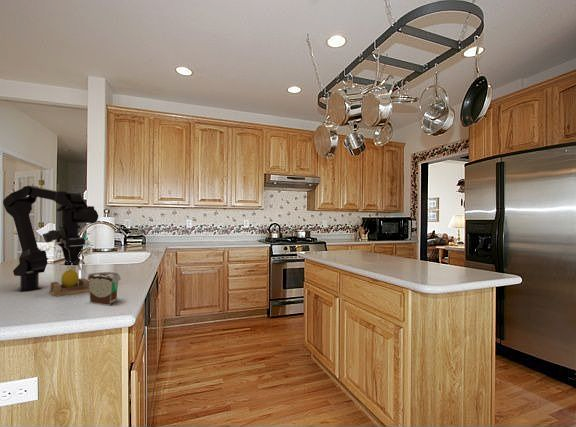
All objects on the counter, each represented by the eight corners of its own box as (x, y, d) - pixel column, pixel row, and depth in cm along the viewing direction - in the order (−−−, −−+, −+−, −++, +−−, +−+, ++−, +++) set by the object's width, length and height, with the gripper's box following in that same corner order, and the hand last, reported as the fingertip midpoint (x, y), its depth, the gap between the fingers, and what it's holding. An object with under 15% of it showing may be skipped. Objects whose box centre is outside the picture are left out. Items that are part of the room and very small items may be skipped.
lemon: (69, 291, 116) (69, 270, 116) (57, 290, 117) (57, 270, 117) (81, 287, 122) (81, 268, 121) (70, 286, 123) (70, 267, 123)
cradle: (49, 292, 118) (49, 282, 118) (83, 287, 127) (83, 277, 127) (54, 296, 112) (54, 286, 112) (90, 291, 121) (90, 281, 121)
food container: (128, 301, 108) (128, 273, 108) (113, 306, 102) (113, 276, 102) (102, 297, 112) (103, 270, 112) (87, 302, 106) (87, 273, 106)
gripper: (40, 222, 120) (39, 261, 120) (49, 223, 108) (49, 267, 108) (73, 222, 129) (72, 258, 128) (85, 223, 116) (85, 263, 116)
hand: (69, 261), depth 120 cm, fingers open, 9 cm apart
